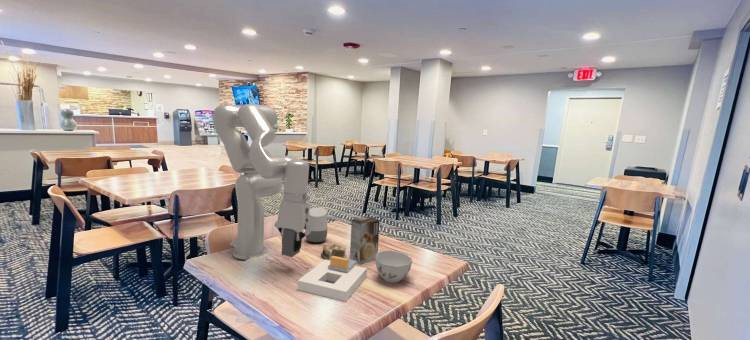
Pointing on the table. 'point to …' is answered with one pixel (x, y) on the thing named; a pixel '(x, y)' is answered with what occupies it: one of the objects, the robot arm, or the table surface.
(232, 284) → the table surface
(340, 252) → the cake
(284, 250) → the plug
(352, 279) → the socket board
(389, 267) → the white bowl
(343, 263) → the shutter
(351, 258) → the coffee box
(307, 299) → the table surface
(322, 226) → the smart speaker
